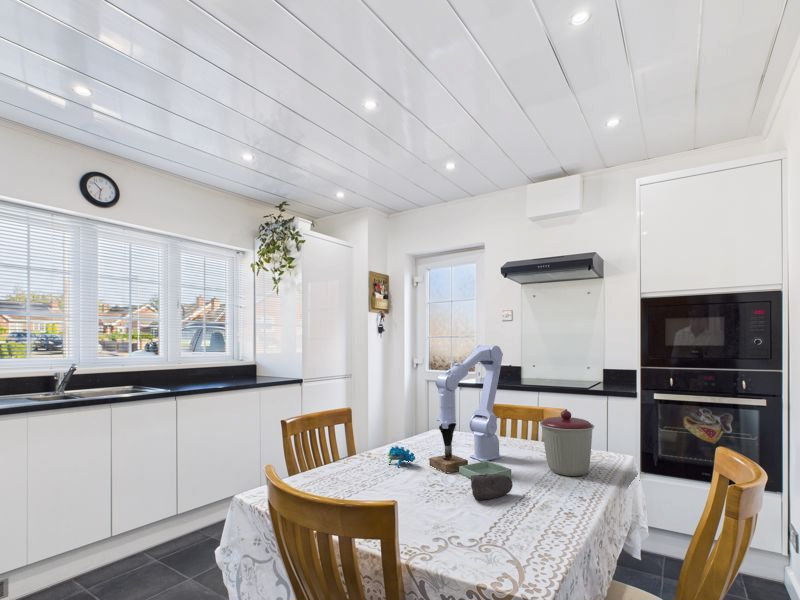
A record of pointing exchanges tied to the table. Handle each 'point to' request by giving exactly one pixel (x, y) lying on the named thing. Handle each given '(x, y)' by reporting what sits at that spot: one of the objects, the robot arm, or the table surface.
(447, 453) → the pin
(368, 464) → the table surface
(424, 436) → the table surface
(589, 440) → the canister
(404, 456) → the blue bumpy piece
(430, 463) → the block
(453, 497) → the table surface
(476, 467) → the tray
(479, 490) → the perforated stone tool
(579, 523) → the table surface
